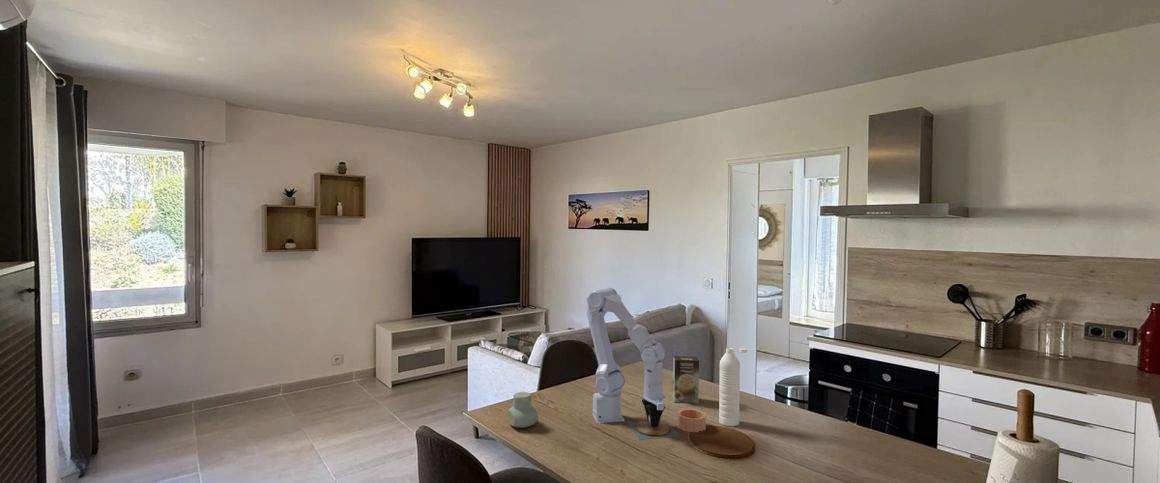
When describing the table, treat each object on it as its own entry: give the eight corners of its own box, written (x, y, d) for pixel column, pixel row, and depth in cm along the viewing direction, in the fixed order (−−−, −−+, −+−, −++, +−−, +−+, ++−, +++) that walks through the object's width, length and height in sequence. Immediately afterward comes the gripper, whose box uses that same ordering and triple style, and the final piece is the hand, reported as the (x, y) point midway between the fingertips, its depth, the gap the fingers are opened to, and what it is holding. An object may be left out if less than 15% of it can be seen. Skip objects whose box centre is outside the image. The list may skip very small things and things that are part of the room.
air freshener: (505, 421, 162) (505, 391, 162) (528, 416, 166) (528, 387, 165) (516, 433, 152) (516, 401, 152) (540, 428, 156) (540, 397, 156)
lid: (641, 437, 148) (641, 423, 148) (631, 423, 158) (631, 410, 158) (675, 434, 150) (675, 421, 150) (663, 420, 161) (663, 408, 160)
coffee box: (673, 403, 179) (674, 359, 178) (672, 397, 185) (672, 355, 185) (699, 403, 178) (699, 360, 177) (696, 397, 184) (696, 356, 184)
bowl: (683, 434, 151) (683, 420, 151) (673, 423, 160) (673, 409, 160) (710, 432, 153) (710, 418, 153) (698, 421, 162) (698, 407, 162)
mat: (639, 441, 147) (639, 439, 146) (627, 424, 159) (627, 422, 159) (680, 437, 149) (680, 436, 149) (665, 421, 162) (665, 419, 162)
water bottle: (719, 425, 158) (719, 349, 157) (718, 418, 164) (719, 345, 164) (747, 428, 156) (748, 351, 155) (745, 420, 162) (746, 346, 162)
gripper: (673, 388, 147) (673, 432, 148) (657, 374, 162) (657, 414, 162) (651, 390, 146) (651, 434, 146) (637, 375, 160) (637, 416, 161)
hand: (653, 424), depth 154 cm, fingers closed on lid, 3 cm apart
